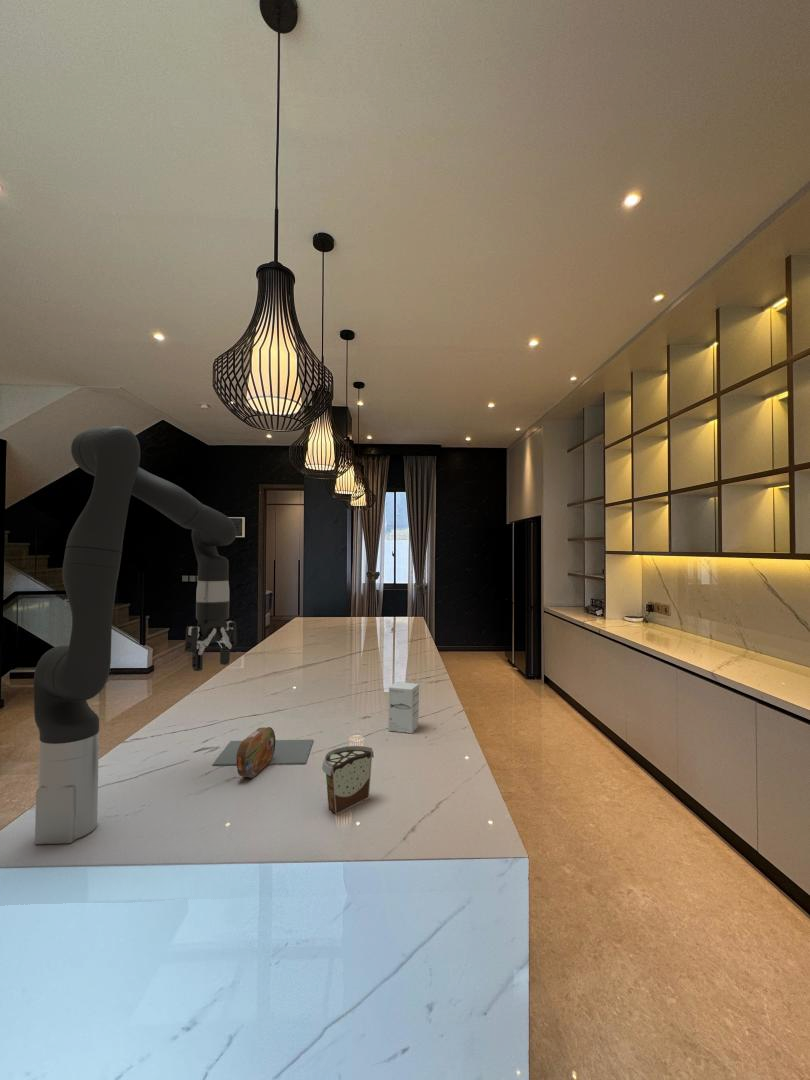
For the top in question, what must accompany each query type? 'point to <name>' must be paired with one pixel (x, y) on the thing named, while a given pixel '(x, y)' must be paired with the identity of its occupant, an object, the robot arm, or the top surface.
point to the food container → (347, 776)
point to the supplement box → (403, 707)
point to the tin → (255, 752)
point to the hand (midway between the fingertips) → (211, 667)
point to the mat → (282, 755)
